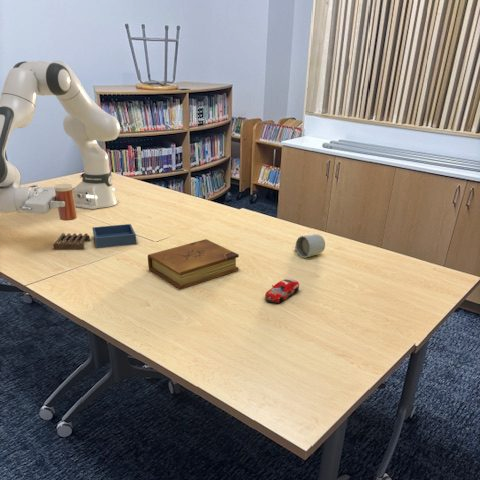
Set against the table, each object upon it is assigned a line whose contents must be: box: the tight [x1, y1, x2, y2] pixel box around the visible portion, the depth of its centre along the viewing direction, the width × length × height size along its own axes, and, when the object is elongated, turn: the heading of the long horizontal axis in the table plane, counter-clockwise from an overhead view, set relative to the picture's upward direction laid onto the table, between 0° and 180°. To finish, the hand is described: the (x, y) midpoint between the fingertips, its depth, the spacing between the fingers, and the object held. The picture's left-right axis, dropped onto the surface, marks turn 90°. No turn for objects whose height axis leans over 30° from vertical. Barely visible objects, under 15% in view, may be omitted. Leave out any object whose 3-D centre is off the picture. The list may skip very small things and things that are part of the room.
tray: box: [92, 223, 138, 249], centre depth 179 cm, size 14×12×4 cm
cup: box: [53, 183, 78, 222], centre depth 168 cm, size 6×6×12 cm
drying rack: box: [52, 232, 91, 250], centre depth 175 cm, size 10×10×2 cm
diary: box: [147, 238, 240, 290], centre depth 156 cm, size 23×19×6 cm
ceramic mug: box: [294, 233, 326, 259], centre depth 170 cm, size 11×8×8 cm
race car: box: [264, 278, 300, 304], centre depth 141 cm, size 13×5×4 cm, turn 140°
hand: (68, 200), depth 168 cm, fingers closed on cup, 6 cm apart
